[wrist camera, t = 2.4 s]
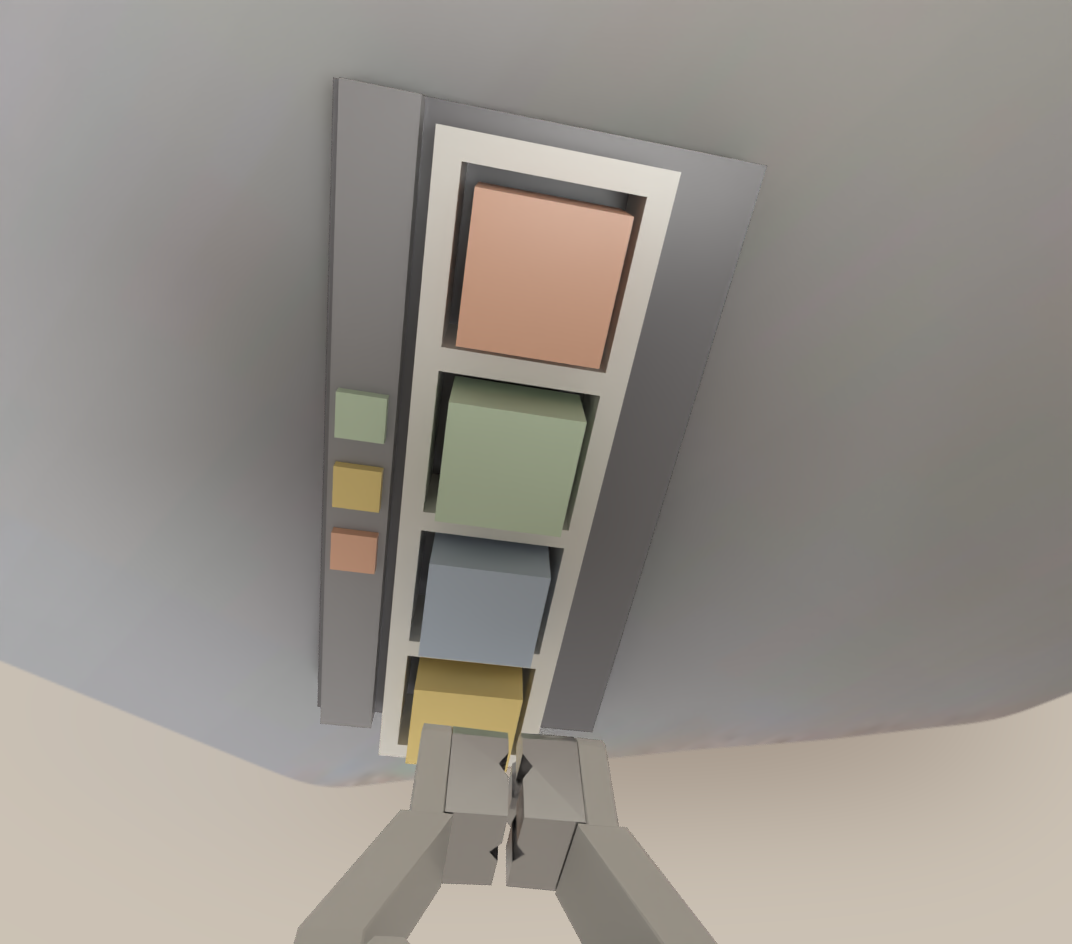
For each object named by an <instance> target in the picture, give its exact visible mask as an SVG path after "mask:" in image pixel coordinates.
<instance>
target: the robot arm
mask: <svg viewBox="0 0 1072 944" xmlns="http://www.w3.org/2000/svg"><path fill="white" fill-rule="evenodd" d="M508 753H509V741H508V733H506V732H498V731H490V730H482V729H473V728H465V727H457V726H453V727H452V726H446V725H437V724H428V723H424V725H423V728H422V732H421V738H420V745H419V751H418V758H417V765H416V771H415V778H414V784H413V792H412V797H411V804H410V810H400V811H399V812H398V814H397V815H396V816H395V817H394V818H393V819H392V821H391V822H390V823H389V824H388V825H387V826H386V827H385V829H384V830H383V831H382V832H381V833H380V834H379V836H378V837H377V838H376V839H375V840H374V841H373V843H372V844H371V845H370V846H369V847H368V848H367V849H366V850H365V852H364V853H363V854H362V855H361V856H360V857H359V858H358V860H357V861H356V862H355V863H354V864H353V866H351V868H350V869H349V870H348V871H347V872H346V873H345V875H344V876H343V877H342V878H341V879H340V880H339V881H338V883H337V884H336V885H335V886H334V887H333V888H332V890H331V891H330V892H329V893H328V894H327V895H326V896H325V898H324V899H323V900H322V901H321V902H320V903H319V904H318V906H317V907H316V908H315V909H314V910H313V911H312V913H311V914H310V915H309V916H308V917H307V918H306V919H305V920H304V922H303V923H302V924H301V925H300V926H299V927H298V930H297V934H296V937H295V941H294V944H409V942H408V941H407V938H408V936H409V935H410V933H411V932H412V930H413V929H414V927H415V926H416V924H417V922H418V921H419V919H420V918H421V916H422V915H423V913H424V912H425V910H426V909H427V907H428V906H429V904H430V903H431V901H432V900H433V898H434V896H435V894H436V893H437V892H438V890H439V889H440V887H441V883H446V884H474V885H475V884H476V885H491V883H492V880H493V876H494V872H495V868H496V865H497V855H498V845H500V844H501V843H502V840H503V835H504V831H505V827H506V822H508V824H509V825H510V827H511V828H510V833H509V837H508V841H507V845H506V886H510V887H520V888H532V889H542V890H552V891H556V893H555V894H556V896H557V898H558V900H559V902H560V904H561V906H562V907H563V909H564V911H565V913H566V915H567V917H568V919H569V920H570V922H571V924H572V926H573V928H574V930H575V932H576V934H577V935H578V937H579V939H580V941H581V943H582V944H717V943H716V941H715V940H714V939H713V938H712V936H711V935H710V934H709V932H708V931H707V930H706V928H705V927H704V926H703V925H702V923H701V922H700V921H699V920H698V918H697V917H696V916H695V914H694V913H693V912H692V910H691V909H690V908H689V907H688V905H687V904H686V903H685V901H684V900H683V899H682V898H681V896H680V895H679V894H678V892H677V891H676V890H675V889H674V887H673V886H672V885H671V884H670V882H669V881H668V879H667V878H666V877H665V876H664V874H663V873H662V872H661V871H660V869H659V868H658V867H657V865H656V864H655V863H654V861H653V860H652V859H651V858H650V856H649V855H648V854H647V852H646V851H645V850H644V849H643V847H642V846H641V845H640V843H639V842H638V841H637V840H636V838H635V837H634V836H633V835H632V833H631V832H630V831H629V829H628V828H627V827H619V825H618V818H617V813H616V806H615V800H614V794H613V788H612V781H611V775H610V770H609V763H608V757H607V751H606V745H605V744H604V742H603V740H594V739H583V738H574V737H567V736H554V735H542V734H529V733H520V735H519V737H518V741H517V745H516V762H514V763H513V764H512V767H511V772H510V777H509V784H508V776H507V774H506V773H505V772H504V771H505V767H506V762H507V757H508Z"/></svg>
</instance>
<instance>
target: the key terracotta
mask: <svg viewBox="0 0 1072 944" xmlns="http://www.w3.org/2000/svg"><path fill="white" fill-rule="evenodd" d="M633 220H634V216H632V215H630V214H629V213H627V212H625V211H624V210H622V209H620V208H615V207H610V206H605V205H599V204H594V203H589V202H584V201H578V200H573V199H568V198H563V197H557V196H552V195H547V194H541V193H536V192H531V191H526V190H520V189H515V188H510V187H505V186H499V185H494V184H489V183H484V182H478V183H477V184H476V186H475V188H474V197H473V205H472V213H471V222H470V230H469V238H468V246H467V255H466V263H465V271H464V280H463V288H462V296H461V305H460V313H459V321H458V330H457V338H456V346H458V347H464V348H471V349H477V350H483V351H489V352H496V353H502V354H508V355H514V356H521V357H527V358H533V359H539V360H546V361H552V362H558V363H564V364H571V365H577V366H583V367H589V368H596V369H599V368H600V363H601V359H602V355H603V350H604V346H605V342H606V337H607V333H608V329H609V324H610V320H611V316H612V311H613V307H614V303H615V298H616V294H617V290H618V285H619V281H620V277H621V272H622V268H623V263H624V259H625V255H626V250H627V246H628V242H629V237H630V233H631V229H632V224H633Z"/></svg>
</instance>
